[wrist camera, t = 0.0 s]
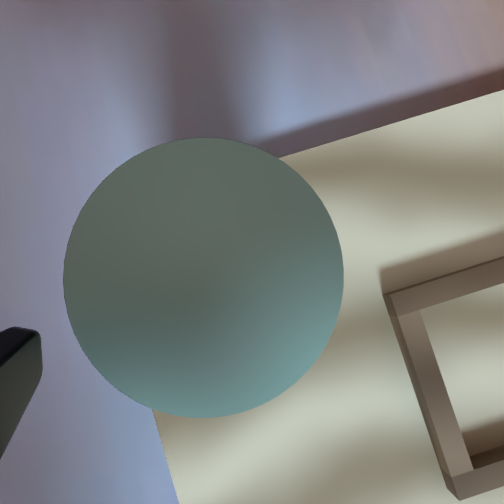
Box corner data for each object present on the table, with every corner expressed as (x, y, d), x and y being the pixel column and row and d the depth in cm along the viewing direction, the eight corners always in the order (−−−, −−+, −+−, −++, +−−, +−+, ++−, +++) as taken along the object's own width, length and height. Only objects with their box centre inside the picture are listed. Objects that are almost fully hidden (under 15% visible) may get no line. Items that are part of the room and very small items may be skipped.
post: (299, 320, 21) (381, 367, 8) (194, 354, 21) (107, 455, 8) (266, 217, 21) (294, 103, 9) (162, 248, 21) (31, 182, 8)
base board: (675, 452, 22) (734, 474, 20) (217, 606, 21) (213, 651, 19) (538, 86, 24) (575, 60, 21) (105, 218, 23) (86, 209, 20)
